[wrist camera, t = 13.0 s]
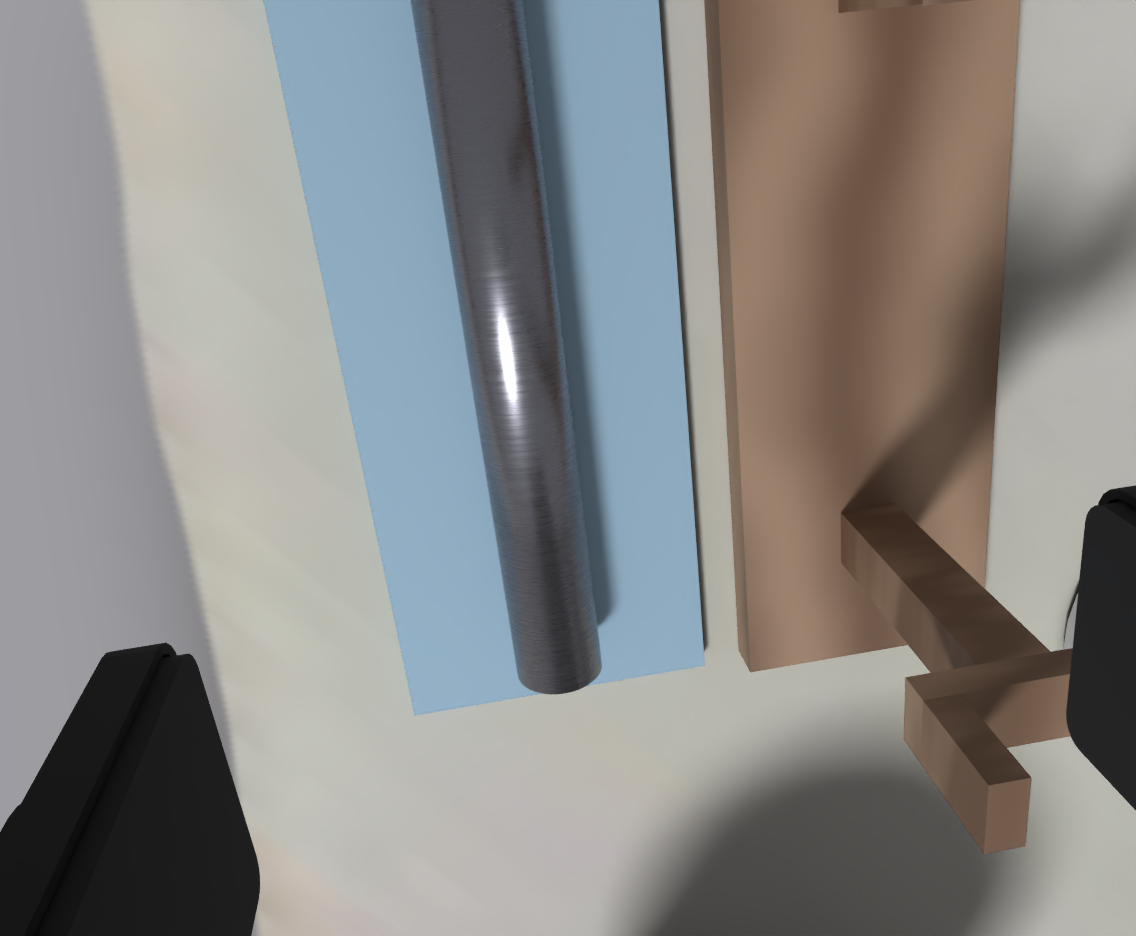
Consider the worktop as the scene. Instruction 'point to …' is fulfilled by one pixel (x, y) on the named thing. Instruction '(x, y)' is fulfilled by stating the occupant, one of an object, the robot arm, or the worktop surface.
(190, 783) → the robot arm
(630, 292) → the mat
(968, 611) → the rack
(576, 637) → the rod
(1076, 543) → the worktop surface
